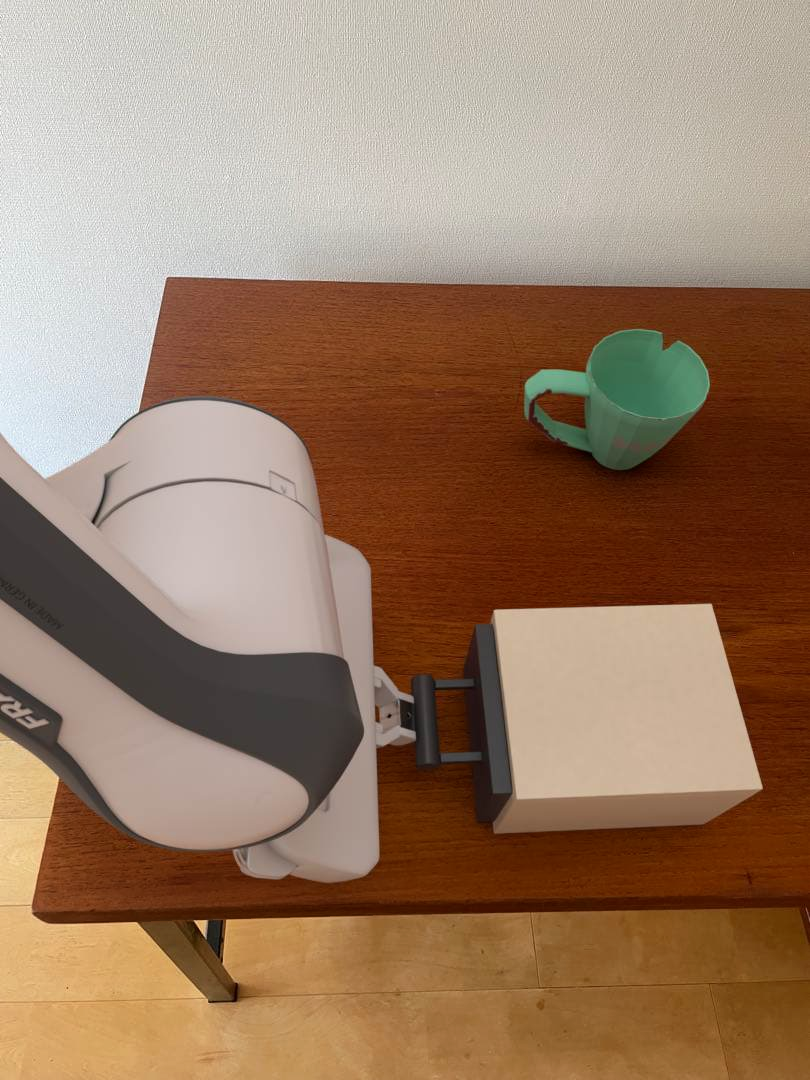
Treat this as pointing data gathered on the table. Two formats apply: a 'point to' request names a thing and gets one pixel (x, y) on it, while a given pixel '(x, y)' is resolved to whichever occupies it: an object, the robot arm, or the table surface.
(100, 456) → the robot arm
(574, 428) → the mug
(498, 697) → the drawer
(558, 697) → the beige cabinet housing
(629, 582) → the table surface
